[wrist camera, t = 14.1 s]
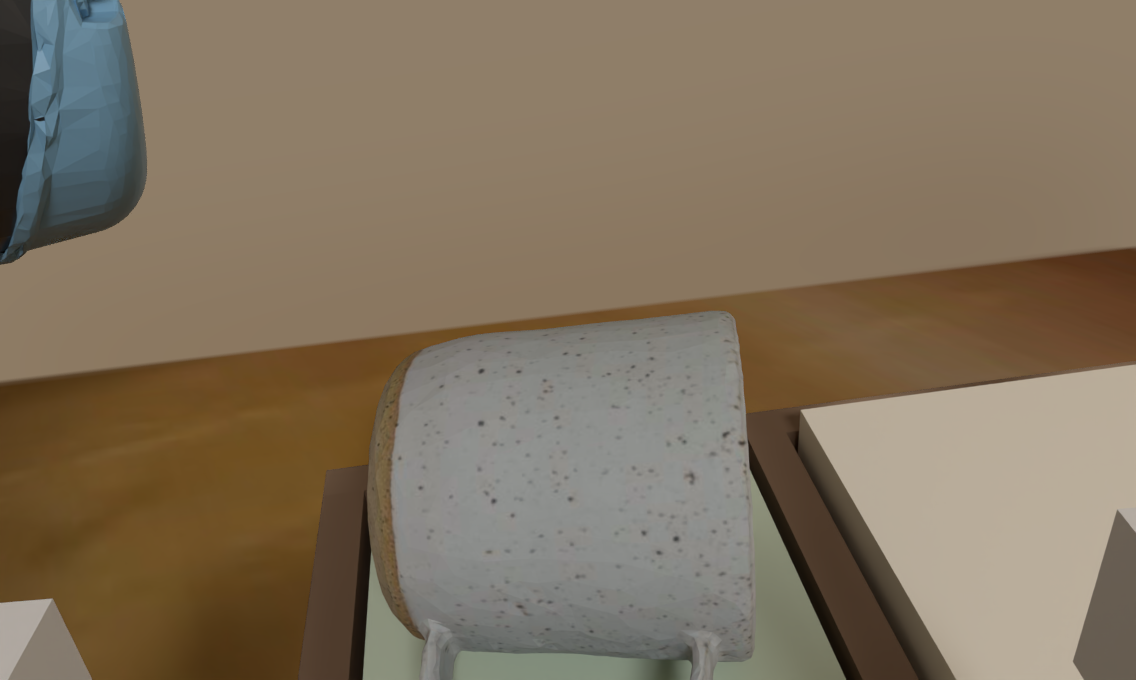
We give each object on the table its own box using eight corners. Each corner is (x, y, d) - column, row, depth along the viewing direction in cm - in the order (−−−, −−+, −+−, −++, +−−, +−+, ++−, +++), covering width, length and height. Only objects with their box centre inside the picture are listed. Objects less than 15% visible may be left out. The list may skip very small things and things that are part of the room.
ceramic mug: (448, 504, 28) (405, 267, 24) (735, 500, 27) (740, 254, 23) (357, 866, 19) (263, 583, 15) (782, 876, 18) (802, 580, 14)
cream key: (962, 807, 21) (981, 723, 19) (795, 482, 30) (800, 410, 29) (1435, 728, 22) (1487, 641, 20) (1130, 435, 31) (1151, 362, 30)
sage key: (375, 937, 21) (350, 862, 19) (390, 569, 30) (375, 499, 28) (876, 852, 21) (889, 774, 20) (738, 519, 31) (740, 449, 29)
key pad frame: (296, 1029, 19) (261, 950, 18) (345, 543, 31) (326, 470, 30) (1539, 811, 21) (1605, 722, 20) (1136, 432, 33) (1158, 357, 31)
